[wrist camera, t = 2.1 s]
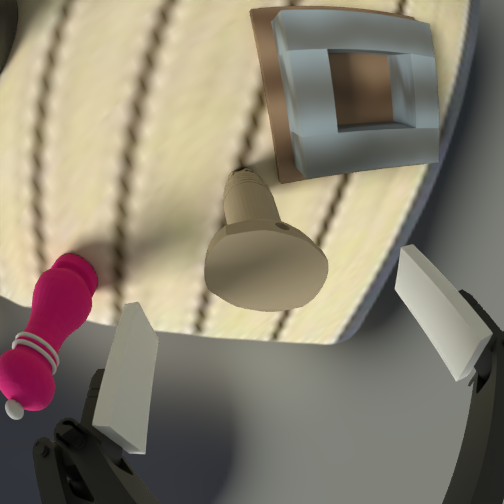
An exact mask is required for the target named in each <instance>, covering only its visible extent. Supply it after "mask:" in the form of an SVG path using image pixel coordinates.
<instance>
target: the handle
mask: <svg viewBox="0 0 504 504" xmlns="http://www.w3.org/2000/svg"><path fill="white" fill-rule="evenodd" d="M223 205H224V212H225V217H226V221H227V225H225V226H224V227H223V228H221V229H220V230H219V231H218V232H217V233H216V234H215V236H214V237H213V239H212V240H211V242H210V244H209V247H208V249H207V253H206V258H205V269H204V274H205V282H206V285H207V287H208V289H209V291H211V292H213V293H214V294H216V295H217V296H219V297H220V298H222V299H223V300H225V301H227V302H228V303H230V304H233V305H235V306H237V307H241V308H245V309H251V310H257V311H265V312H275V311H283V310H289V309H294V308H299V307H303V306H304V305H306V304H307V303H309V302H310V301H311V300H312V299H314V297H315V296H316V295H317V294H318V293H319V291H320V290H321V288H322V287H323V285H324V283H325V280H326V278H327V274H328V260H327V258H326V256H325V255H324V253H323V251H322V250H321V249H320V248H319V247H318V246H317V245H316V244H315V243H314V242H313V241H312V240H311V239H310V238H309V237H307V236H306V235H305V234H304V233H302V232H301V231H300V230H298V229H296V228H294V227H292V226H291V225H289V224H287V223H284V222H282V221H281V219H280V216H279V213H278V210H277V207H276V204H275V201H274V198H273V195H272V193H271V192H270V190H269V188H268V187H267V185H266V184H265V182H264V181H263V180H262V179H261V178H260V177H259V176H257V175H256V174H254V173H253V171H252V170H251V169H249V168H244V169H243V170H241V171H237V172H234V171H232V172H231V173H230V175H229V180H228V181H227V183H226V186H225V189H224V195H223Z"/></svg>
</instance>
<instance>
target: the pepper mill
mask: <svg viewBox="0 0 504 504" xmlns="http://www.w3.org/2000/svg"><path fill="white" fill-rule="evenodd" d="M97 285H98V279H97V275H96V272H95V271H94V269H93V267H92V266H91V265H90V264H89V263H88V262H87V261H86V260H85V259H83V258H82V257H80V256H77V255H74V254H65V255H62V256H60V257H59V258H58V259H57V260H56V262H55V263H54V265H53V266H52V268H51V269H49V270H47V271H45V272H44V273H43V274H42V275H41V276H40V278H39V280H38V281H37V283H36V285H35V289H34V292H33V300H32V310H31V315H30V319H29V322H28V324H27V327H26V328H25V330H24V332H20V333H18V334H17V336H16V339H15V341H14V342H13V344H12V349H11V350H8V351H6V352H4V353H3V354H2V356H1V357H0V389H1V391H2V392H3V394H4V395H5V396H6V397H7V398H8V399H9V400H8V401H7V403H6V405H5V408H6V412H7V414H8V415H9V416H10V417H11V418H12V419H16V420H17V419H21V418H22V416H23V414H24V410H23V409H26V410H30V411H38V410H41V409H44V408H45V407H46V406H48V405H49V403H50V402H51V400H52V398H53V396H54V392H55V382H54V379H53V376H52V375H53V374H55V373H56V367H57V366H58V365H59V357H58V352H59V349H60V347H61V345H62V343H63V342H64V340H65V339H66V338H67V337H68V336H69V335H70V334H71V333H72V332H74V331H75V330H76V329H78V328H79V327H80V326H81V325H82V324H83V323H84V322H85V321H86V319H87V317H88V315H89V313H90V311H91V308H92V297H93V294H94V292H95V290H96V288H97Z"/></svg>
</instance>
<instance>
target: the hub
mask: <svg viewBox="0 0 504 504" xmlns="http://www.w3.org/2000/svg"><path fill="white" fill-rule="evenodd" d="M250 17H251V21H252V26H253V31H254V36H255V41H256V46H257V51H258V57H259V62H260V67H261V73H262V78H263V84H264V89H265V95H266V101H267V107H268V113H269V119H270V125H271V131H272V137H273V143H274V150H275V156H276V163H277V170H278V177H279V181H280V183H281V184H284V183H290V182H295V181H301V180H307V179H313V178H319V177H326V176H332V175H339V174H346V173H353V172H360V171H367V170H375V169H383V168H392V167H401V166H410V165H420V164H427V163H438V162H439V100H438V85H437V74H436V64H435V56H434V49H433V43H432V36H431V31H430V25H429V24H428V23H423V22H419V21H415V20H414V17H409V16H404V15H399V14H394V13H388V12H381V11H374V10H366V9H357V8H345V7H327V6H288V7H270V8H258V9H251V10H250Z"/></svg>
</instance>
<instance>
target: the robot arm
mask: <svg viewBox="0 0 504 504" xmlns="http://www.w3.org/2000/svg"><path fill="white" fill-rule="evenodd" d="M17 18H18V10H17V4H16V0H0V71H1V69H2V68H3V66H4V63H5V61H6V59H7V57H8V54H9V52H10V49H11V46H12V43H13V39H14V36H15V31H16V26H17ZM395 290H396V292H397V293H398V294H399V296H400V297H401V299H402V300H403V301H404V303H405V304H406V305H407V307H408V308H409V310H410V311H411V313H412V314H413V315H414V317H415V318H416V320H417V321H418V323H419V324H420V325H421V327H422V328H423V330H424V331H425V333H426V334H427V336H428V337H429V339H430V340H431V342H432V343H433V345H434V347H435V348H436V349H437V351H438V353H439V354H440V356H441V357H442V359H443V361H444V362H445V364H446V366H447V367H448V369H449V370H450V372H451V374H452V375H453V377H454V379H455V380H456V382H457V381H459V380H460V379H462V378H464V377H466V376H468V375H469V374H470V372H471V370H472V369H473V367H474V368H475V369H476V373H475V375H474V376H473V378H472V379H471V381H470V382H469V385H468V386H471V384H472V383H473V381H474V384H473V391H472V398H471V404H470V410H469V415H468V420H467V425H466V429H465V434H464V438H463V442H462V446H461V450H460V453H459V457H458V460H457V463H456V467H455V470H454V473H453V476H452V479H451V482H450V485H449V487H448V490H447V493H446V495H445V498H444V500H443V503H442V504H502V503H503V499H504V331H503V332H502V331H501V330H500V328H499V327H498V326H497V325H496V323H495V322H494V321H493V320H492V319H491V317H490V316H489V315H488V314H487V313H486V311H485V310H483V308H482V307H481V306H480V304H478V302H477V301H476V300H475V299H474V298H473V296H472V295H470V294H469V293H467V292H466V291H464V290H460V291H457V290H456V289H455V288H454V286H453V285H452V284H451V283H450V282H449V281H448V280H447V279H446V278H445V277H444V276H443V274H442V273H441V272H440V271H439V270H438V269H437V268H436V267H435V266H434V265H433V264H432V263H431V262H430V261H429V260H428V259H427V258H426V257H425V256H424V255H423V254H422V253H421V252H420V251H419V250H418V249H417V248H416V247H415V246H414V245H408V246H404V247H401V251H400V259H399V266H398V273H397V280H396V286H395ZM158 341H159V339H158V337H157V335H156V334H155V332H154V330H153V328H152V326H151V325H150V323H149V321H148V319H147V317H146V315H145V313H144V312H143V310H142V308H141V306H140V304H139V302H134V303H128V304H125V306H124V309H123V312H122V315H121V318H120V321H119V324H118V327H117V330H116V333H115V337H114V340H113V344H112V347H111V350H110V353H109V357H108V361H107V364H106V368H105V369H98V370H97V371H96V373H95V374H94V376H93V377H92V380H91V383H90V387H89V391H88V394H87V399H86V402H85V406H84V410H83V414H82V418H81V423H78V422H77V421H76V420H74V419H72V418H64V419H62V420H61V421H60V422H59V423H58V424H57V425H56V427H55V429H54V439H55V441H57V442H53V441H51V440H50V439H49V438H46V437H43V438H40V439H38V440H37V441H36V442H35V444H34V446H33V459H34V466H35V472H36V478H37V482H38V487H39V492H40V497H41V501H42V504H161V503H160V502H159V501H158V500H157V499H156V497H155V496H154V495H153V494H152V493H151V491H150V490H149V489H148V488H147V486H146V485H145V484H144V483H143V481H142V480H141V479H140V478H139V476H138V475H137V474H136V472H135V471H134V470H133V469H132V467H131V465H130V464H129V463H128V461H127V460H126V458H125V457H124V456H123V455H122V448H123V449H124V450H126V451H127V452H128V453H137V454H145V451H146V439H147V428H148V418H149V409H150V400H151V391H152V383H153V376H154V368H155V362H156V355H157V349H158Z"/></svg>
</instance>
